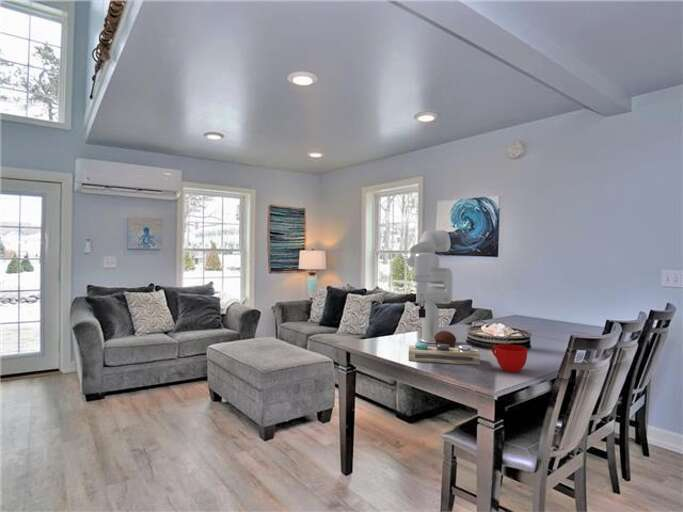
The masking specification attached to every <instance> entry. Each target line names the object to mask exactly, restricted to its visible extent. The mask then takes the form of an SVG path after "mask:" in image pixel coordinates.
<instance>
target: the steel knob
mask: <svg viewBox="0 0 683 512" xmlns="http://www.w3.org/2000/svg"><path fill="white" fill-rule="evenodd" d="M457 348H458V349H459V352H470V351H471V349H473V347H472V345H468V344H459V345H458V347H457Z"/></svg>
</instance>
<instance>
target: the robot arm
mask: <svg viewBox="0 0 683 512" xmlns="http://www.w3.org/2000/svg"><path fill="white" fill-rule="evenodd" d="M451 245H452V244H451V238H450V234H449V232H448V231H446V230H443V229H442V230H441V229H440V230H439V229H430V230H426V231H424V232H423V233H422V234H421V237H420V239H419V242H418V243H417V244H415V245H413V246H411V247H410V248H409V249H408V251H407V256H406V264H407V266H408V267H410V268H414V277H413V278H414V283H416V284H415V285H416V286H415V287H416V288H415V289H416V290H415V291H416V292H415V298H416V299H415V303H416V304H418V318H419V319H421V323H422V324H421V337H420V338H419V342H420V343H427V344H435V339H434V337H435V335H436V334H437V333H438V332H440V310H439V308H438V306H437V305H436V304H445V305H446V304H447V305H448V304H450V303H452V301H453V272H452V269H451V268H449V267H440V258H439V256H438V255H437V254H436V252H438V253H441V252H443V253H444V252H449V251H450V249H451ZM431 285H432V286H431ZM435 285H442V286H435Z"/></svg>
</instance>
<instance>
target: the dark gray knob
mask: <svg viewBox="0 0 683 512" xmlns="http://www.w3.org/2000/svg"><path fill="white" fill-rule="evenodd" d="M437 348H438V351H448V350H449V348H450V345H448V344H437Z"/></svg>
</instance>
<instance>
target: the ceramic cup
mask: <svg viewBox="0 0 683 512" xmlns="http://www.w3.org/2000/svg"><path fill="white" fill-rule="evenodd" d="M491 353H492V355H493V356H494V358H496V361H497V364H498V365H499V367H500V368H501V369H502V371H504V372H506V371H508V372H507V373H512V372H516V373H519V372H520V371H521V370H522V369H523V368H524V367H525V365H526V363H527V360H528V348H527V347H525V346H522V345H517V344H509V343H508V344H503V343H502V344H497V345H493V346H492V347H491Z"/></svg>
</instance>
